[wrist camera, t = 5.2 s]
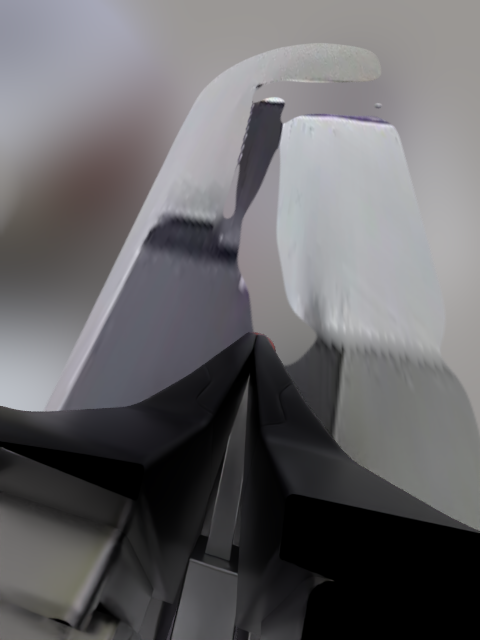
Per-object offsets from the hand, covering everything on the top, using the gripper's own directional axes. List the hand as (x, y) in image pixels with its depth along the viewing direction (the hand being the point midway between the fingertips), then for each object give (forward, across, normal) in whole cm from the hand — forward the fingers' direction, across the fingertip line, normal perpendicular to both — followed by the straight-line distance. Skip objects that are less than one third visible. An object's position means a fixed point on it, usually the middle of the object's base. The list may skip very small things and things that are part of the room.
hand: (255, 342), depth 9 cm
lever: (-1, 0, +7) cm, 7 cm away
